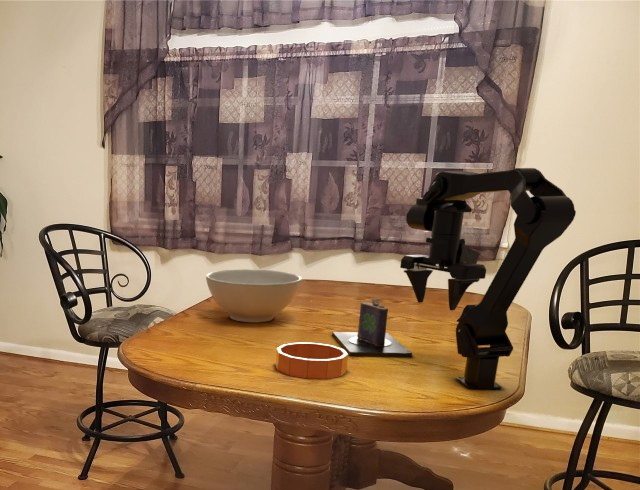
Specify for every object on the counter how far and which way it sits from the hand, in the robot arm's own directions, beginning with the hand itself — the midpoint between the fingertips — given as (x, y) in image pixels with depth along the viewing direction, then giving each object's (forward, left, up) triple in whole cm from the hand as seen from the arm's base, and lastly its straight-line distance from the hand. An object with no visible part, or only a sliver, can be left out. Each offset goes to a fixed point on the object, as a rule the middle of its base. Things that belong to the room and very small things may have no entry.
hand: (435, 306), depth 149 cm
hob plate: (+15, +9, -13) cm, 22 cm away
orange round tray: (-6, +27, -13) cm, 31 cm away
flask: (+15, +9, -12) cm, 21 cm away
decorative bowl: (+45, +35, -13) cm, 59 cm away
